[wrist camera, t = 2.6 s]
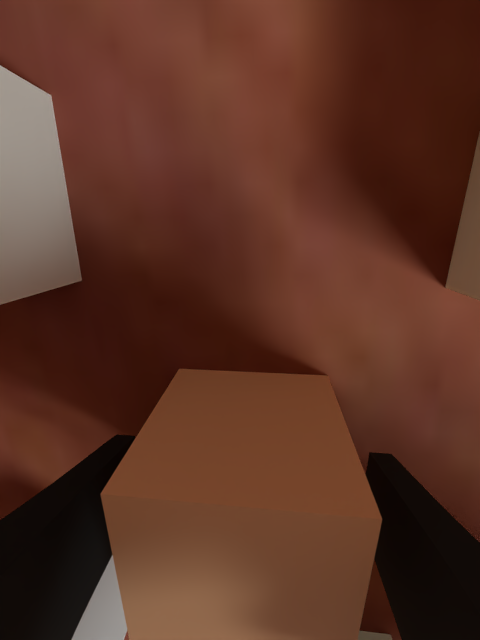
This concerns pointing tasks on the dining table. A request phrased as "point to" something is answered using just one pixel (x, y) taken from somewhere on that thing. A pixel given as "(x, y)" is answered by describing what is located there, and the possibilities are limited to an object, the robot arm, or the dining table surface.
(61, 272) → the white block
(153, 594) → the terracotta block
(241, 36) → the dining table surface
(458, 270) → the maple block
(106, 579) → the grey block
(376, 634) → the sage block
